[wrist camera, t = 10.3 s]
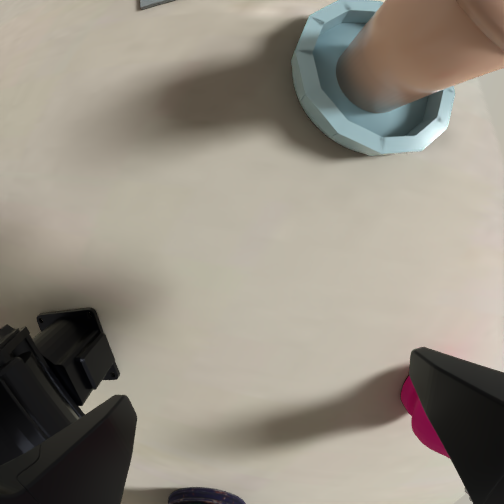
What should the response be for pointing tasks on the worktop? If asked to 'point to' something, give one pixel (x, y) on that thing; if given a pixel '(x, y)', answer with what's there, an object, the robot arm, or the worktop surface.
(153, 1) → the mat
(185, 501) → the storage jar
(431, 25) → the dome-capped peach post
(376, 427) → the worktop surface
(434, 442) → the pepper mill
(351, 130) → the bowl
